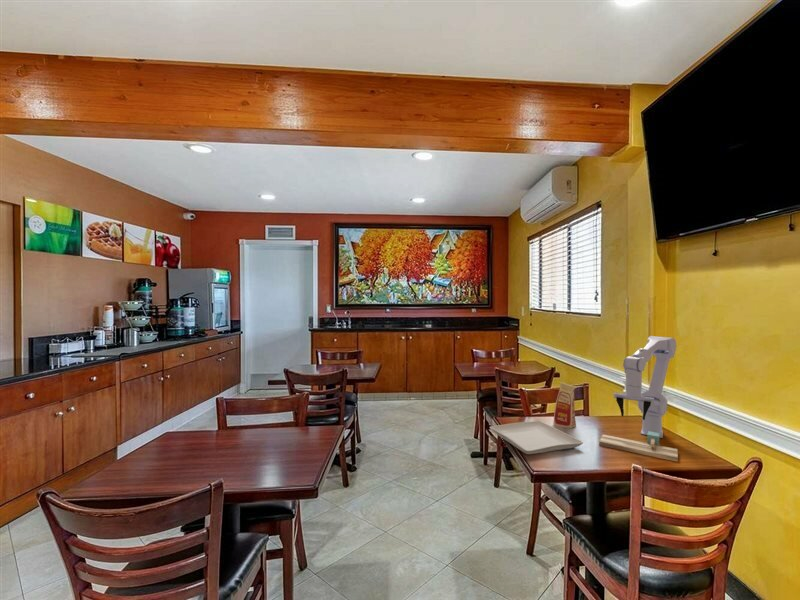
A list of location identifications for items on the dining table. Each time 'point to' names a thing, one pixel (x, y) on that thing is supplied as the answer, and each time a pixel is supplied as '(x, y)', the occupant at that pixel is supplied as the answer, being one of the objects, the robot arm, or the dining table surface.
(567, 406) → the milk carton
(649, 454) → the board
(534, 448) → the square plate
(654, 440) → the tan post teal base
